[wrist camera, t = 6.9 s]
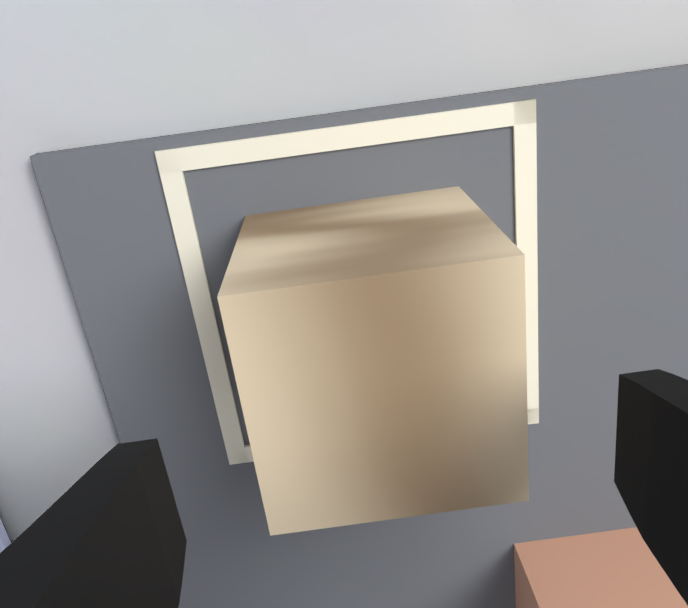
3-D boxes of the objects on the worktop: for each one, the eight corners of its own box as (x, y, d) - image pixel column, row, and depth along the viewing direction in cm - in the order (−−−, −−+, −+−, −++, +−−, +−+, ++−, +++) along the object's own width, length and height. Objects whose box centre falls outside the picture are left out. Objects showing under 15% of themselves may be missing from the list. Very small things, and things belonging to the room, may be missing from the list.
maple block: (280, 399, 17) (269, 535, 12) (245, 215, 15) (217, 296, 10) (469, 373, 17) (529, 500, 12) (458, 186, 15) (524, 254, 10)
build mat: (213, 719, 22) (210, 734, 22) (36, 153, 15) (28, 157, 14) (759, 646, 22) (769, 659, 22) (870, 39, 15) (888, 39, 14)
